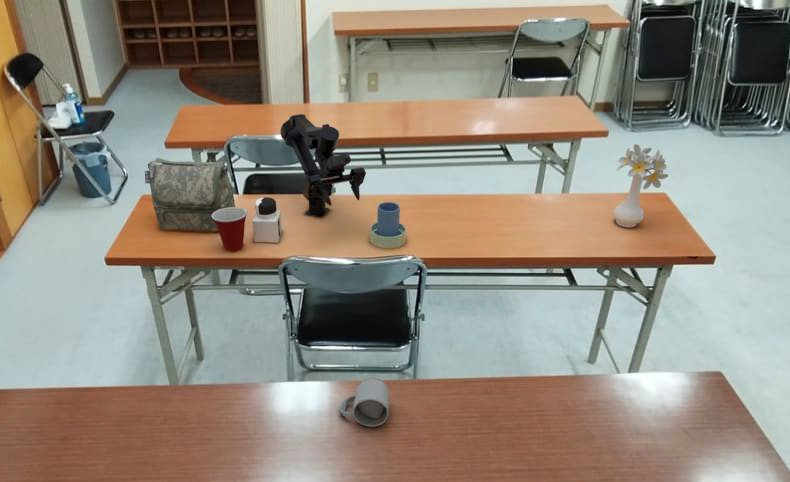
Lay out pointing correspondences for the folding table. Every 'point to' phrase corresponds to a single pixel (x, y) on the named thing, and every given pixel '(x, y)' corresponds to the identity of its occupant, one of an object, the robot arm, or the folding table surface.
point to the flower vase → (638, 183)
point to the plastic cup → (231, 227)
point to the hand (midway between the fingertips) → (344, 202)
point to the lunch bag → (188, 193)
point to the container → (267, 221)
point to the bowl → (387, 238)
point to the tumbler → (388, 219)
